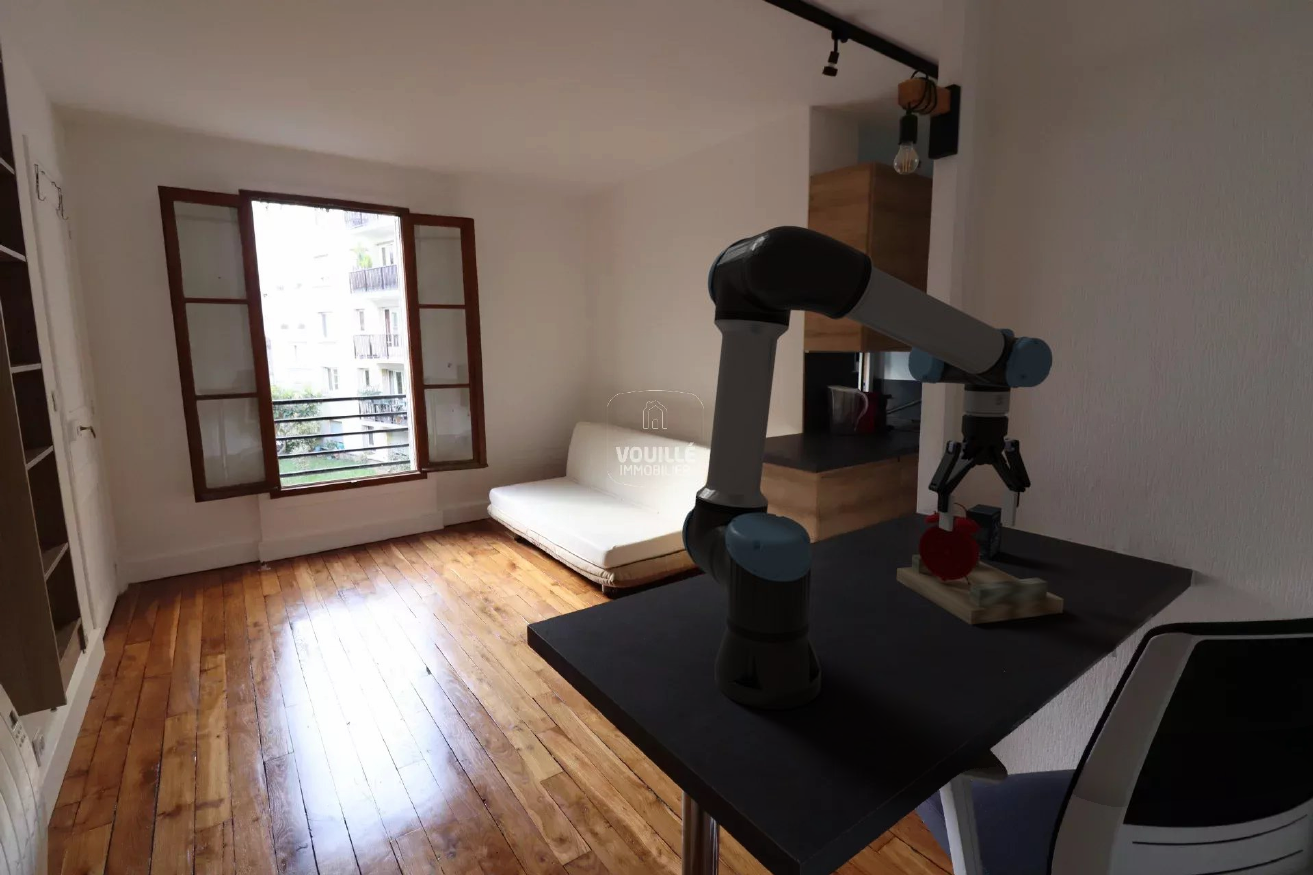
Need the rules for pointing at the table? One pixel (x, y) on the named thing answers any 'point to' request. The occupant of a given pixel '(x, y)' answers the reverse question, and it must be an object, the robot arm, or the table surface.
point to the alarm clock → (950, 548)
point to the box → (987, 529)
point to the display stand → (982, 593)
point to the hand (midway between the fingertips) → (976, 526)
